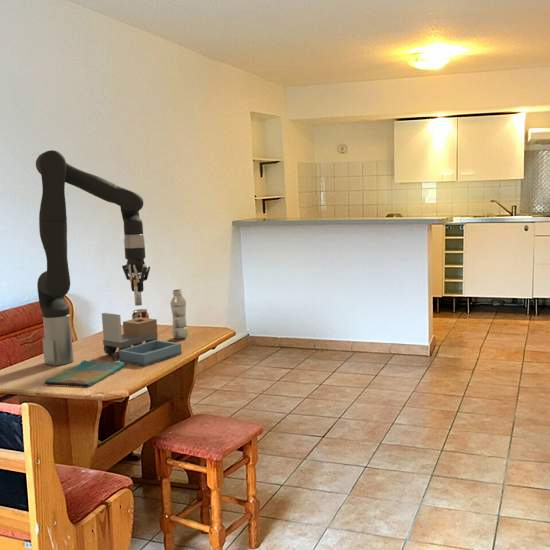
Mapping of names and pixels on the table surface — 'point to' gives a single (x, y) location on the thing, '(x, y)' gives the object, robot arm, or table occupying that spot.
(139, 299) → the stop pin
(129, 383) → the table surface
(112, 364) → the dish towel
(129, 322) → the trolley
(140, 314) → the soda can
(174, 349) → the tray
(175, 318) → the plastic bottle
